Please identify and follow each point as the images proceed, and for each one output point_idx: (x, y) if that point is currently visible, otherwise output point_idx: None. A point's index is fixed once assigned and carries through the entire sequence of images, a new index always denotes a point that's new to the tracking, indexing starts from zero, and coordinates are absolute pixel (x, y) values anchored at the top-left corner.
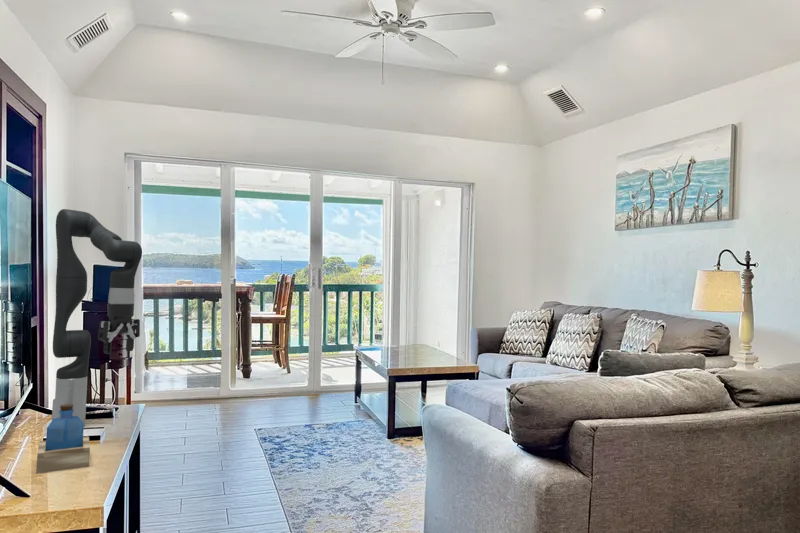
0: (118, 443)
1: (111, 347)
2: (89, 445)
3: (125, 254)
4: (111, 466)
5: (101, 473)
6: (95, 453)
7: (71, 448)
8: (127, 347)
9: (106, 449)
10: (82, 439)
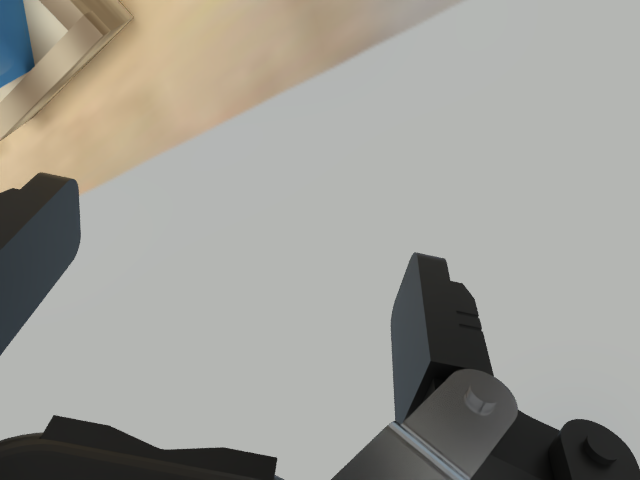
0: (289, 56)
1: (32, 305)
2: (9, 128)
3: None
4: None
5: None
6: (148, 47)
7: None
8: (413, 293)
9: (204, 58)
10: (17, 76)
